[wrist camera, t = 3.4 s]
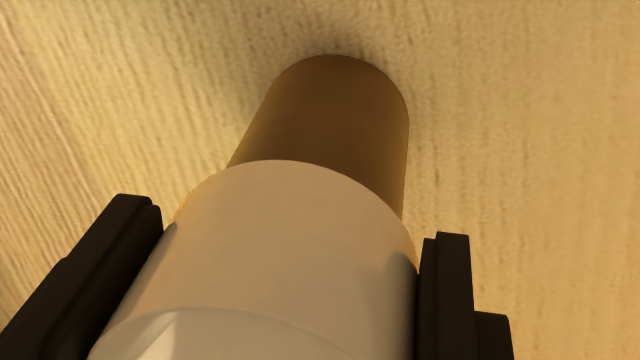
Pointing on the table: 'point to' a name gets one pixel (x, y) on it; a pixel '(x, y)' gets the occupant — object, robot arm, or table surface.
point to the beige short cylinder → (272, 274)
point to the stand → (334, 124)
